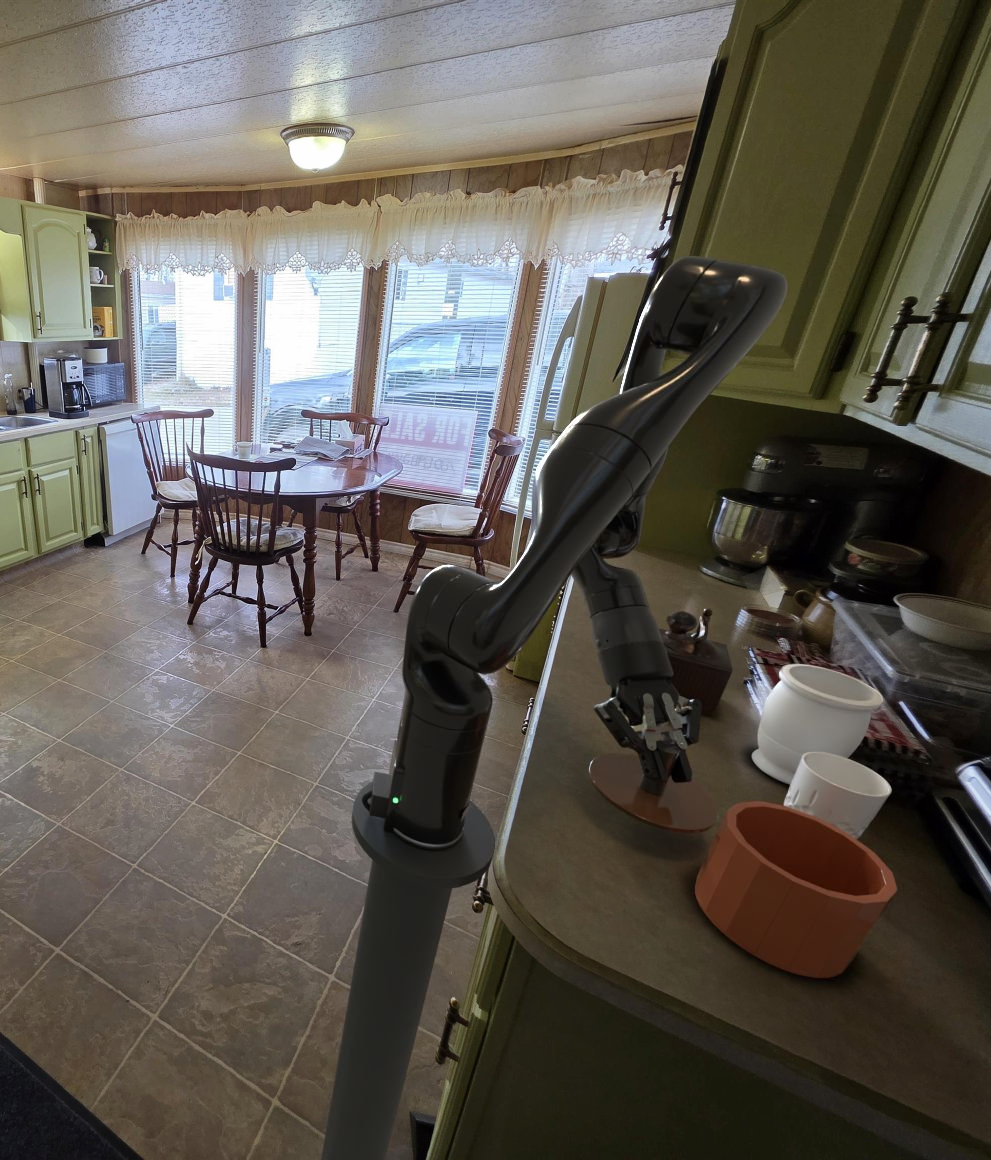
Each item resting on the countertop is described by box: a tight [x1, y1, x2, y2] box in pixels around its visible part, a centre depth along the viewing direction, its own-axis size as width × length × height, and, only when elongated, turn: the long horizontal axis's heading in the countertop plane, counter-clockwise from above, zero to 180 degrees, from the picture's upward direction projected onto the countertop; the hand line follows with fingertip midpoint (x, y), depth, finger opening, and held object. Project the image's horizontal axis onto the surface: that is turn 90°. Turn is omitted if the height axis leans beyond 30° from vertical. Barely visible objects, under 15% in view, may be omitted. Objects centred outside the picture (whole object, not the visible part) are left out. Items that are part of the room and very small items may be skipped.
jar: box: [751, 663, 884, 786], centre depth 86 cm, size 11×10×15 cm
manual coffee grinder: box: [659, 608, 733, 717], centre depth 102 cm, size 16×11×18 cm
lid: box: [587, 739, 719, 834], centre depth 77 cm, size 14×14×8 cm
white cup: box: [783, 752, 893, 840], centre depth 75 cm, size 8×8×10 cm
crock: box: [694, 800, 898, 979], centre depth 64 cm, size 13×13×10 cm
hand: (670, 782), depth 75 cm, fingers closed on lid, 2 cm apart
